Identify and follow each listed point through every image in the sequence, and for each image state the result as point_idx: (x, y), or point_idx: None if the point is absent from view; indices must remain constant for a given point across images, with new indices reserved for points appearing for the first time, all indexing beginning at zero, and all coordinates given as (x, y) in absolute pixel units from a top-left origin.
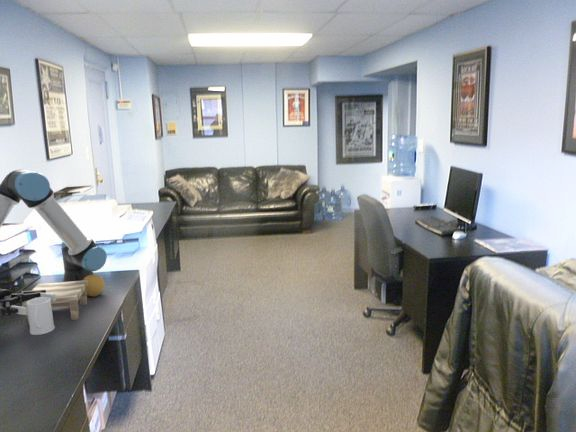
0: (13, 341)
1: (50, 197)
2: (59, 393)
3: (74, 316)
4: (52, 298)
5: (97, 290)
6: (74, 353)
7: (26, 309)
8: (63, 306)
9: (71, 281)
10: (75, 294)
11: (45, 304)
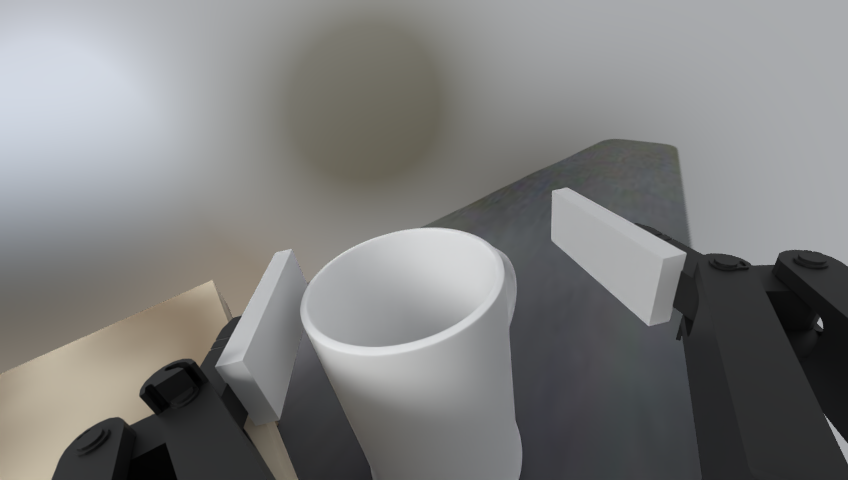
0: (651, 444)
1: None
2: (578, 163)
3: None
4: (300, 287)
5: None
6: (488, 221)
7: (554, 205)
8: None
9: None
10: (165, 308)
11: (411, 242)
